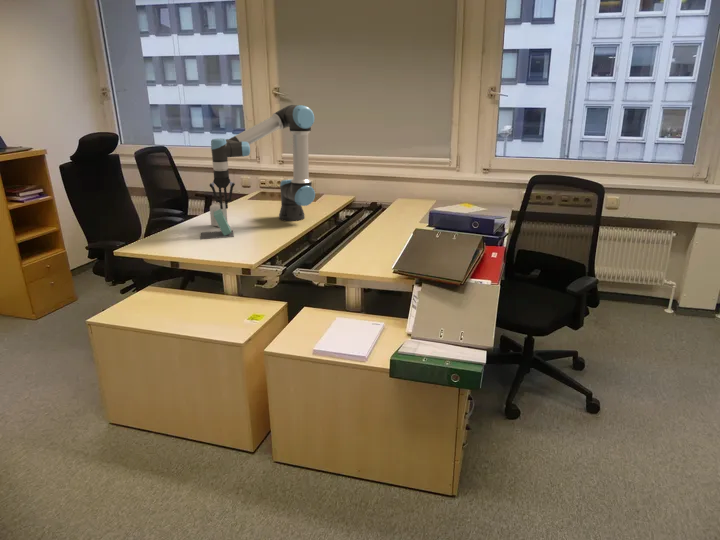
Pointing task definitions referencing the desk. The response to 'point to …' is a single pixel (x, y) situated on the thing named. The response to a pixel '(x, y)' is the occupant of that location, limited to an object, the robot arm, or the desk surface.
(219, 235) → the mat
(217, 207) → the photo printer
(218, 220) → the block
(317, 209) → the desk surface
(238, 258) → the desk surface
